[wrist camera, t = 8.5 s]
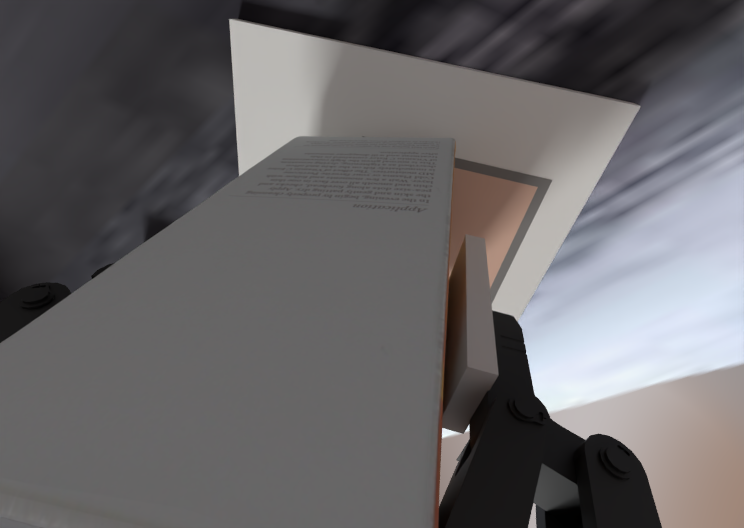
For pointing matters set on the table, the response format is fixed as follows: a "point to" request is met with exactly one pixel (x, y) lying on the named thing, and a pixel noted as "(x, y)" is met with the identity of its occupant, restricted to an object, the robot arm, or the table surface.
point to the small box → (249, 357)
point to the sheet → (439, 136)
